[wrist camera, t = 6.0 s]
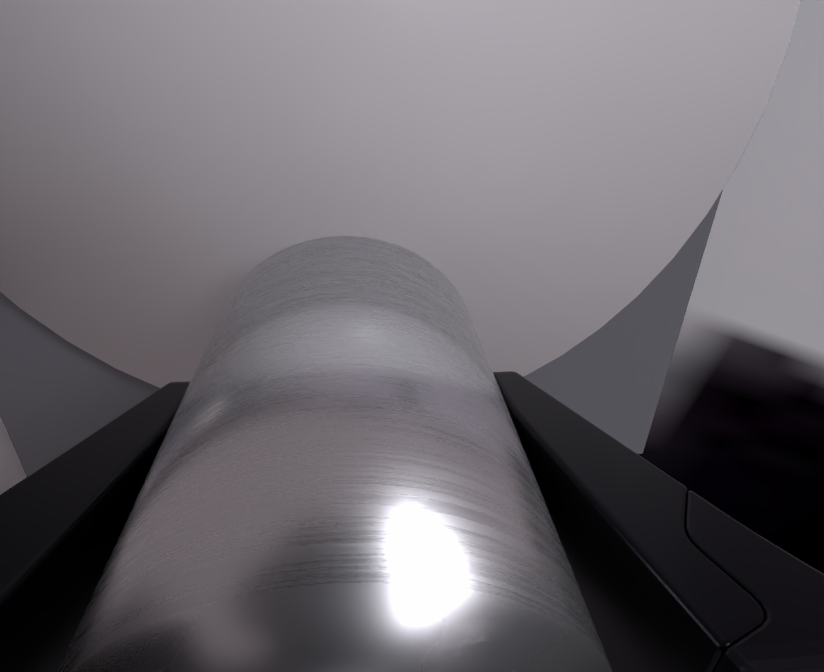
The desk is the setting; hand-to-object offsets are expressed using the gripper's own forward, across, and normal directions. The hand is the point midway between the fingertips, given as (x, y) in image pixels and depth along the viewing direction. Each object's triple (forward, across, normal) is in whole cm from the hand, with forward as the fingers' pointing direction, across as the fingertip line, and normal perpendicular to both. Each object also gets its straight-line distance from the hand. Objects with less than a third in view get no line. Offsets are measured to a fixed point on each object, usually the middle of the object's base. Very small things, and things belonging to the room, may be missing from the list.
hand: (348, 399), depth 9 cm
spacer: (+1, 0, 0) cm, 1 cm away
